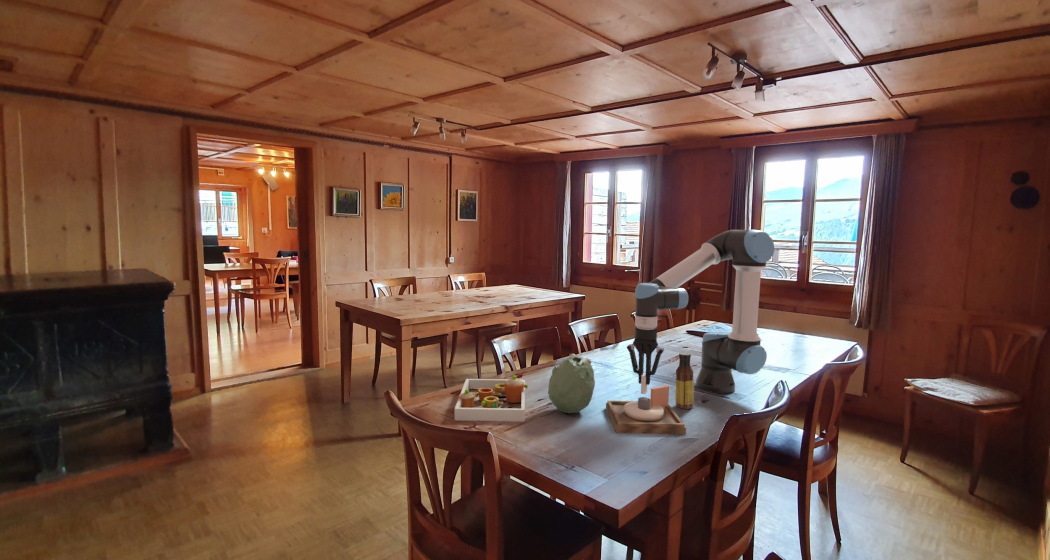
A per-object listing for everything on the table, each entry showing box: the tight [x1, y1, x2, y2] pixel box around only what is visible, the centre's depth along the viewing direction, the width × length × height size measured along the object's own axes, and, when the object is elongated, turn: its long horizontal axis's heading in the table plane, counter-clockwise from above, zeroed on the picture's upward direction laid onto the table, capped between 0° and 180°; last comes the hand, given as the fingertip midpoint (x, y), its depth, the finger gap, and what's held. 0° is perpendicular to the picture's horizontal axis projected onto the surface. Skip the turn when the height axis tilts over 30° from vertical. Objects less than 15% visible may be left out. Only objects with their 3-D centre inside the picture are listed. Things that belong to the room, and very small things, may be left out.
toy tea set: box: [458, 375, 529, 408], centre depth 186 cm, size 26×16×10 cm, turn 139°
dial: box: [624, 385, 670, 421], centre depth 173 cm, size 18×13×8 cm
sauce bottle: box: [675, 352, 695, 410], centre depth 186 cm, size 7×6×20 cm
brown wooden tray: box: [605, 400, 687, 435], centre depth 173 cm, size 22×22×3 cm
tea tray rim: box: [454, 378, 526, 422], centre depth 187 cm, size 23×33×4 cm
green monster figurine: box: [547, 353, 596, 414], centre depth 179 cm, size 16×19×20 cm
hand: (643, 392), depth 181 cm, fingers closed
